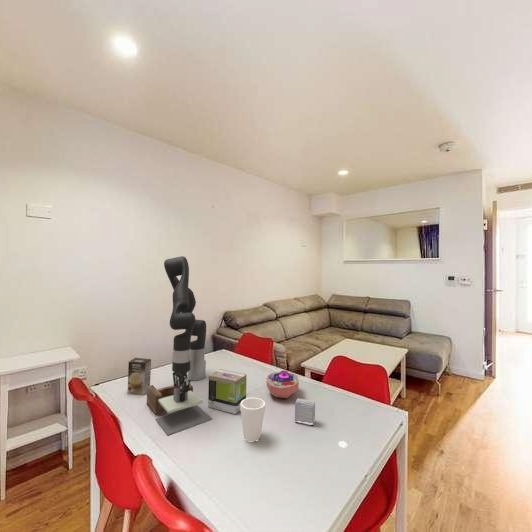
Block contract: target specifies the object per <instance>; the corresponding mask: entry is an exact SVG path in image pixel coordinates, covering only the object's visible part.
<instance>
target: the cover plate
mask: <svg viewBox="0 0 532 532" xmlns="http://www.w3.org/2000/svg"><path fill="white" fill-rule="evenodd" d="M179 400H180V388H179V387H178V388H174V395H172V396H169V397H165V398H162V399H158V402H159V403H160V404H161V405H162V407H163V408H164V409H165V410H166V411H167V412H166V413H167V414H172V413H175V412H178V411H181V410H185V409H188V408H191V407H194V406H197V405H200V404H203V403H204V401H203V399H202V398H201V397H200V396H198V395H197V394H196V393H194V391H193V392H192V391H188V392H186V393H185V401H183V402H180V401H179Z"/></svg>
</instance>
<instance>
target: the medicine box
mask: <svg viewBox="0 0 532 532" xmlns="http://www.w3.org/2000/svg"><path fill="white" fill-rule="evenodd" d="M314 420H315V421H316V401H315V400H310V399H304V398H296V401H295V402H294V422H295V421H301V422H308V423H314V424H315V422H314Z"/></svg>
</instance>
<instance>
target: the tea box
mask: <svg viewBox="0 0 532 532" xmlns="http://www.w3.org/2000/svg"><path fill="white" fill-rule="evenodd" d="M207 390H208V392H207V394H208V397H207V403H208V405H207V407H208V408H212V409H215V410H218V411H222V412H226V413H229V414H234V415H237V414H238V413H239V412H241V410H240V403H241V401H242V400H244V399H246V398H247V373H242V372H238V371H231V370H226V369H218V370H216V371H215V372H213V373H211V374H209V375H208V389H207ZM238 411H239V412H238Z"/></svg>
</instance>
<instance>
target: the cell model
mask: <svg viewBox="0 0 532 532" xmlns="http://www.w3.org/2000/svg"><path fill="white" fill-rule="evenodd" d="M265 384H266V388H267V390H268V391H269V393H270V394H271V396H273V397H276V398H278V397H279V398H280V399H288V398H290V396H293V394H295V393H296V392H297V391H298V390H299V385H300V380H299V376H298V375H297V374H295V373H293V372H289V371H287V370H285V369H283V370H281V371H279V372H275V371H274V372H272V373H270V374H268V375H266V383H265Z"/></svg>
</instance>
